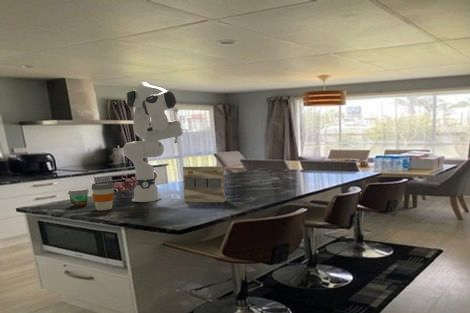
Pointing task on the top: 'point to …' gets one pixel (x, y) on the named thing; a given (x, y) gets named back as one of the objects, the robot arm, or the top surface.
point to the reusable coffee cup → (103, 195)
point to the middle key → (202, 182)
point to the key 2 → (214, 183)
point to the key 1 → (190, 182)
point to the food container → (78, 197)
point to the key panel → (204, 192)
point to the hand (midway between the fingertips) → (168, 144)
